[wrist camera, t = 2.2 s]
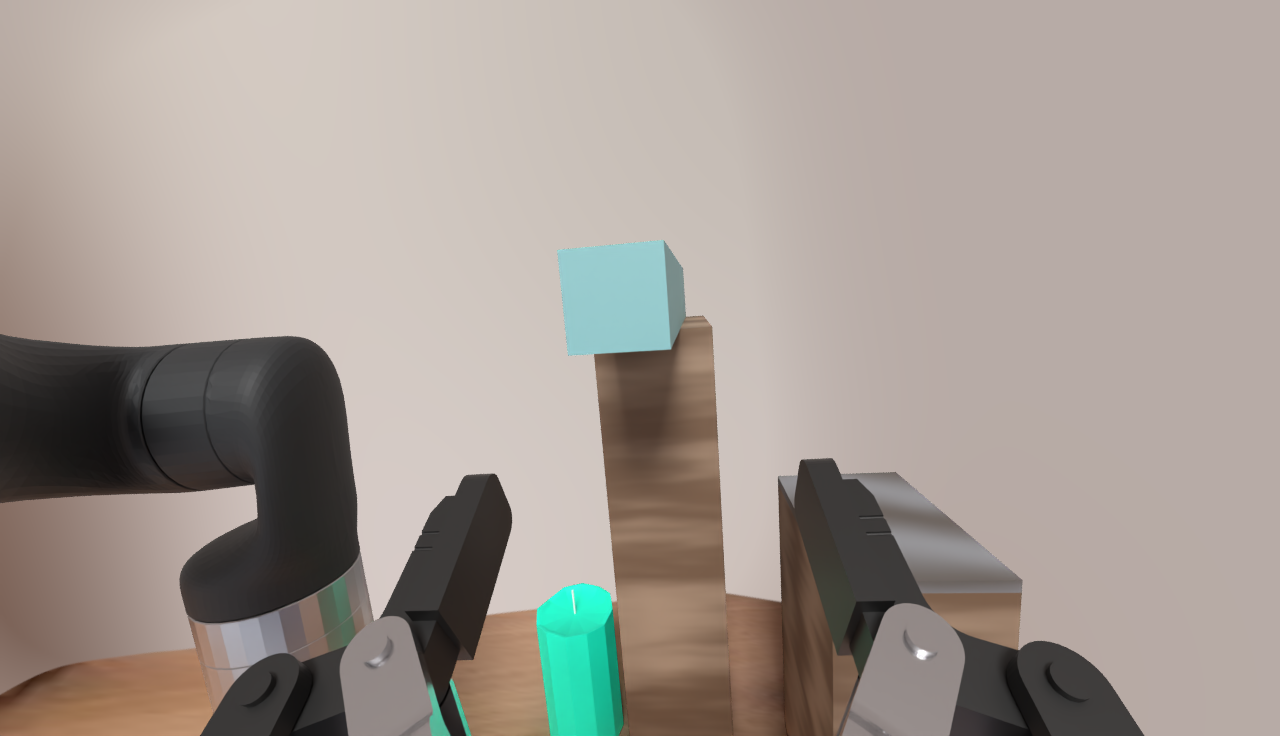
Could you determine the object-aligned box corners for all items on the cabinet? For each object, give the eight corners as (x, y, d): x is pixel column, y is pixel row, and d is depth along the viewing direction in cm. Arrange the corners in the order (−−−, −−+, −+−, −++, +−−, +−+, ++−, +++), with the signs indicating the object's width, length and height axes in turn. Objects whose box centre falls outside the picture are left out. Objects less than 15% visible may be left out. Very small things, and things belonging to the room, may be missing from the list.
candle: (608, 681, 41) (596, 559, 39) (635, 737, 35) (623, 599, 34) (542, 710, 38) (526, 582, 37) (561, 775, 33) (542, 629, 31)
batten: (671, 349, 17) (663, 240, 16) (567, 355, 18) (557, 250, 17) (685, 316, 39) (682, 268, 38) (639, 319, 39) (635, 272, 38)
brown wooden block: (998, 948, 23) (1022, 580, 20) (835, 937, 24) (832, 582, 21) (891, 726, 35) (895, 472, 32) (785, 724, 36) (777, 476, 32)
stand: (735, 792, 31) (711, 326, 26) (634, 788, 32) (592, 334, 27) (721, 654, 43) (703, 315, 38) (647, 654, 44) (620, 321, 38)
